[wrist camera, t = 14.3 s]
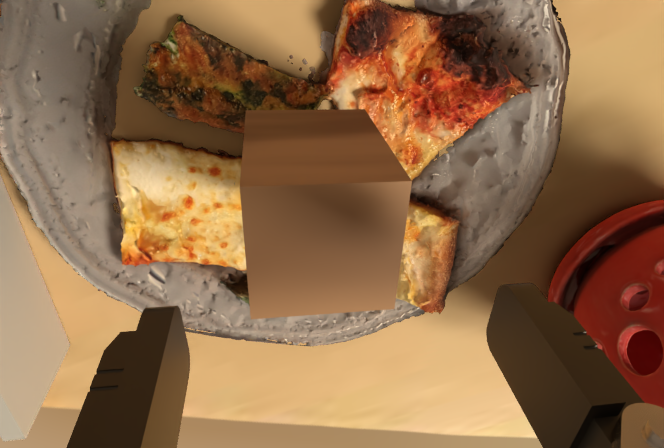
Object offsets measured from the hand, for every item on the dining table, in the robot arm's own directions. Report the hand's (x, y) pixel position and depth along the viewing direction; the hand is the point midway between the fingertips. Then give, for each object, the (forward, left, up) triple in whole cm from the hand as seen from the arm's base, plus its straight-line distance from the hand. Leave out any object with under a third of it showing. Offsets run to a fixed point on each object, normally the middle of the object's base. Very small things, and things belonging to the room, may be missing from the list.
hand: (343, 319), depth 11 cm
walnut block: (0, 0, -10) cm, 10 cm away
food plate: (0, 0, -13) cm, 13 cm away
